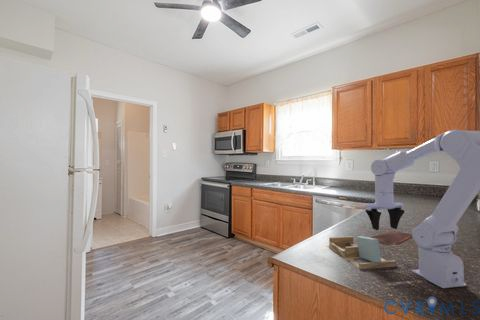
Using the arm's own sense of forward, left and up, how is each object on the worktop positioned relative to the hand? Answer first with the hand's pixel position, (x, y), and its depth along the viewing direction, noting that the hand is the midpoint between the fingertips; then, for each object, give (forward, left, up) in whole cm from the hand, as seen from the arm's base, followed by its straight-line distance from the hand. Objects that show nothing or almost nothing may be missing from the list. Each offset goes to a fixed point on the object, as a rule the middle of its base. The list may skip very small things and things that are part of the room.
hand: (384, 228), depth 81 cm
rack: (+1, +11, -10) cm, 14 cm away
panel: (-5, +11, -8) cm, 14 cm away
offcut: (+7, +8, -9) cm, 14 cm away
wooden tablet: (+16, -18, -11) cm, 26 cm away
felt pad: (-5, +11, -10) cm, 15 cm away
